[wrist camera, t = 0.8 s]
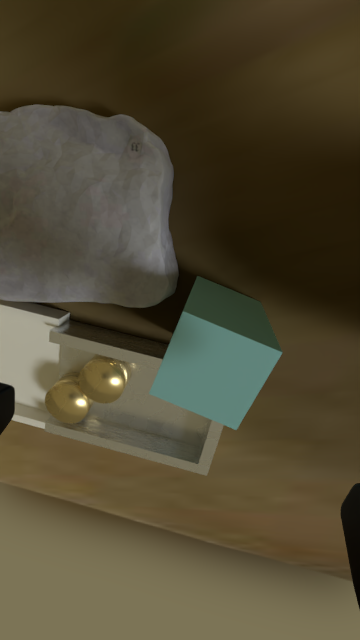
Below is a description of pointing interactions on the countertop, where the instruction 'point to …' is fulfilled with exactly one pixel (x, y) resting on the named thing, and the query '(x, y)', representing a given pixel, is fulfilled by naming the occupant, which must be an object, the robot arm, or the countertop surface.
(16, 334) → the chip tray
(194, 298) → the mint green brick
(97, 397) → the chip
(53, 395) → the chip
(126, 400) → the channel
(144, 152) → the stone block
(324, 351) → the countertop surface
